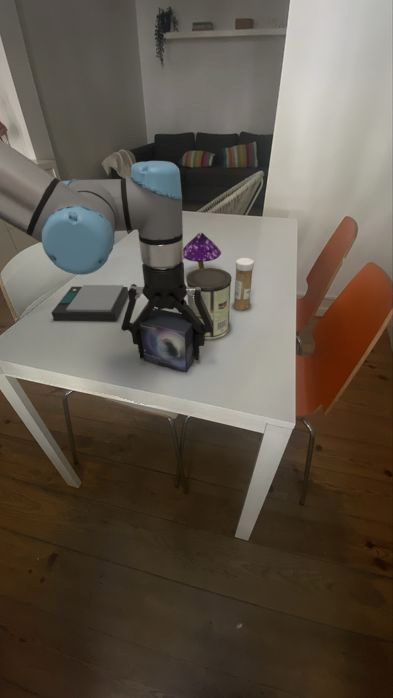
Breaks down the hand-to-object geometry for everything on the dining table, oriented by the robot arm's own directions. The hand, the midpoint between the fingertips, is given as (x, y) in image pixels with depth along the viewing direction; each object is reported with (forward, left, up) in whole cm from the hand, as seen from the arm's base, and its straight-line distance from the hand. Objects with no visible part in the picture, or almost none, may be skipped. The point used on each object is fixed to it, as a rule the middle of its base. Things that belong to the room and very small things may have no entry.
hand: (169, 355), depth 70 cm
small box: (0, 0, -1) cm, 1 cm away
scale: (-25, +23, -1) cm, 34 cm away
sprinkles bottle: (+17, +24, -2) cm, 30 cm away
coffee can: (+8, +13, -2) cm, 16 cm away
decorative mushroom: (+5, +41, -2) cm, 41 cm away
